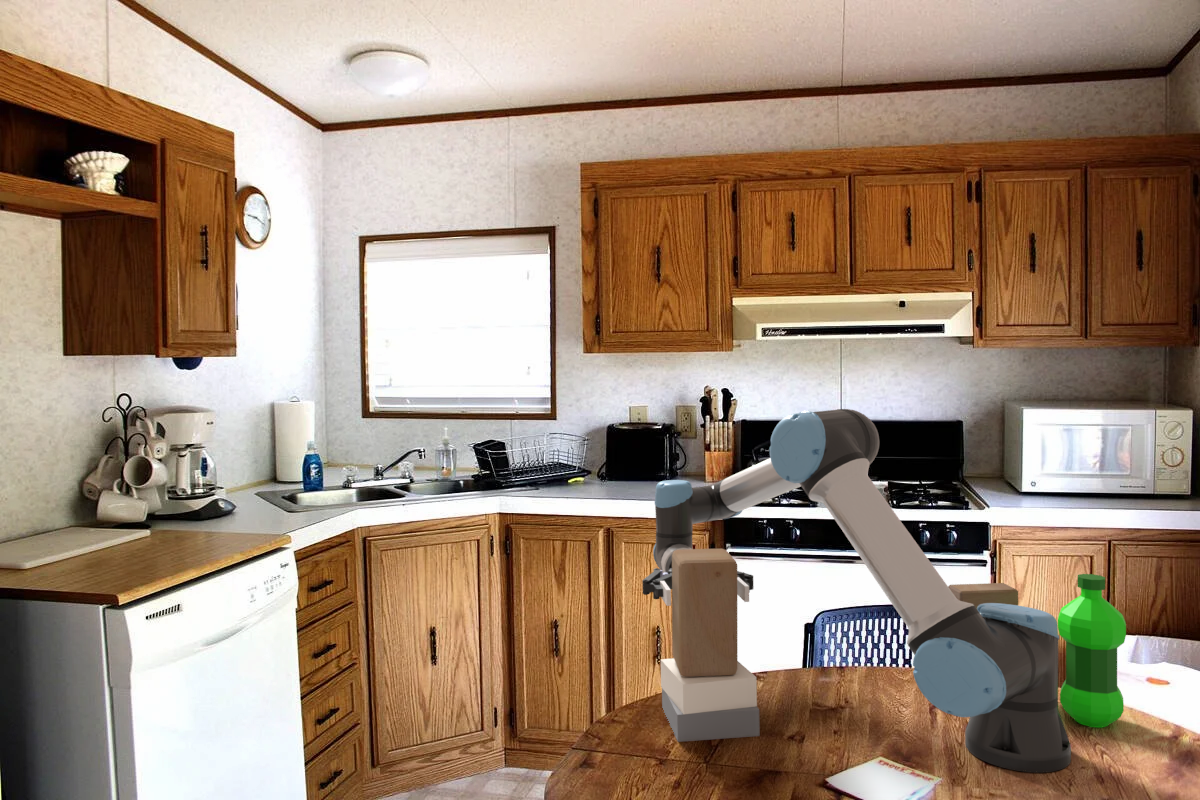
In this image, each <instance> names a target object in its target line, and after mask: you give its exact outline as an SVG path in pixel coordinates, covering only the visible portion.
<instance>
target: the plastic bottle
mask: <svg viewBox="0 0 1200 800" xmlns="http://www.w3.org/2000/svg"><path fill="white" fill-rule="evenodd" d="M1077 588H1080V595H1079V596H1077V597H1076V598H1074V599H1072V600H1070V601H1069V602H1068V603H1067V604H1065V605H1064V606H1062V607H1061V609H1060V611H1059V613H1058V617H1057V628H1058V635H1059V637H1061V638H1062V639H1063V640H1064V642H1065V680H1064V682H1063V683H1062V685H1061V688H1060V691H1059V692H1060V693H1059V701H1060V704H1061V706H1062V708H1063V710H1064V711H1065V713H1066V714H1068V715H1069V716H1070V717H1072V718H1073V719H1074V721H1075V722H1077V723H1078V724H1080V725H1083V726H1087V727H1090V728H1098V729H1099V728H1105V727H1109V725H1111V724H1113V723H1115V722H1116V721H1118V720H1119V719H1120V718H1121V717H1122V715H1123V713H1124V709H1125V708H1124V706H1125V705H1124V697H1123V694H1122V692H1121V690H1120V688H1119V686H1118V648H1120V647H1121V646H1122V645H1123V644H1124V643H1125V640H1126V637H1127V636H1126V635H1127V623H1126V620H1125V617H1124V615H1123V614H1122V612H1120V611H1119V610H1118V609H1117V608H1116V607H1115V606H1114V605H1112V604H1111V603H1110V602H1108V600H1106V599H1105V597H1103V593H1102V592H1103V591H1105V590H1106V577H1105V576H1104V575H1103V576H1102V575H1099V574H1092V573H1081V574H1077Z"/></svg>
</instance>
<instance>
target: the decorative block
mask: <svg viewBox="0 0 1200 800" xmlns="http://www.w3.org/2000/svg"><path fill="white" fill-rule="evenodd" d="M947 586H948V587H949V589H950V590H951V591H952V593H953V594H954V596H955V597H956V598H957V599H958V600H959V601H963V602H967V603H971V604H973V605H974V606H975V607H976V609H977V607H978V606H979V605H980V604H984V603H1001V604H1010V605H1018V606H1019V590H1018V589H1016V588H1014V587H1013V586H1010V585H1008V584H1006V583H1005V582H996V583H995V582H994V583H993V582H992V583H989V582H988V583H965V584H964V583H963V584H961V583H960V584H957V583H956V584H949V585H947Z"/></svg>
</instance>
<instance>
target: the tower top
mask: <svg viewBox="0 0 1200 800" xmlns="http://www.w3.org/2000/svg"><path fill="white" fill-rule="evenodd" d="M660 687H661V690H662V689H663V690H664V691H665V692H666V693H667V695H668V696H669V697H670V698H671V700H672V701H673V702H674V703H675V705H676V706H677V707H678V708H679V709H680V711H681V712H682V713H683V714H692V713H701V712H710V711H719V710H728V709H737V708H747V707H756V706H757V707H758V703H757V702H758V701H757V700H758V698H757V697H758V694H757V691H758V689H757V688H758V687H757V676H755V674H753V673H752V672H751V671H750V670H749V669H748V668H747V667H745V666H744V665H743V664H742V663H741V662H740V661H739V660H737V672H736V674H734V675H719V676H690V677H685V676H682V675H681V674H680V672H679V669H678V667H677V664H676V662H675V659H674V657H673V658H663V659H662V658H661V659H660Z"/></svg>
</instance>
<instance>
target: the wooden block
mask: <svg viewBox="0 0 1200 800" xmlns="http://www.w3.org/2000/svg"><path fill="white" fill-rule="evenodd" d="M737 571H738V564H737V561H736V559H735V558H733V556H732V555H731V554H730V553H729V551H727V549H725V548H693V549H682V550H675V551H673V554H672V589H671V606H672V607H671V608H672V609H671V617H672V619H671V624H672V625H671V628H672V630H671V631H672V633H671V635H672V638H671V639H672V640H671V642H672V645H671V646H672V647H671V648H672V657H673V658H674V659H675V662H676V664H677V667H678V669H679V672H680V674H681V675H682V676H685V677H690V676H719V675H734V674H736V672H737V661H738V595H737Z"/></svg>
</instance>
